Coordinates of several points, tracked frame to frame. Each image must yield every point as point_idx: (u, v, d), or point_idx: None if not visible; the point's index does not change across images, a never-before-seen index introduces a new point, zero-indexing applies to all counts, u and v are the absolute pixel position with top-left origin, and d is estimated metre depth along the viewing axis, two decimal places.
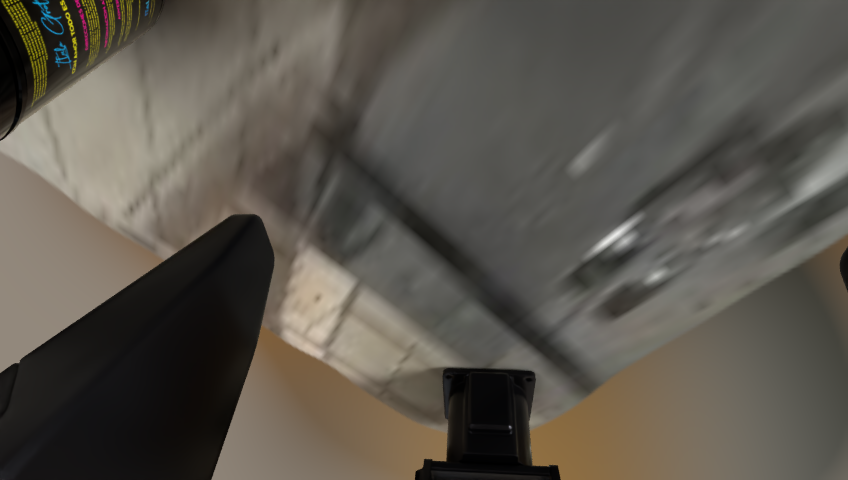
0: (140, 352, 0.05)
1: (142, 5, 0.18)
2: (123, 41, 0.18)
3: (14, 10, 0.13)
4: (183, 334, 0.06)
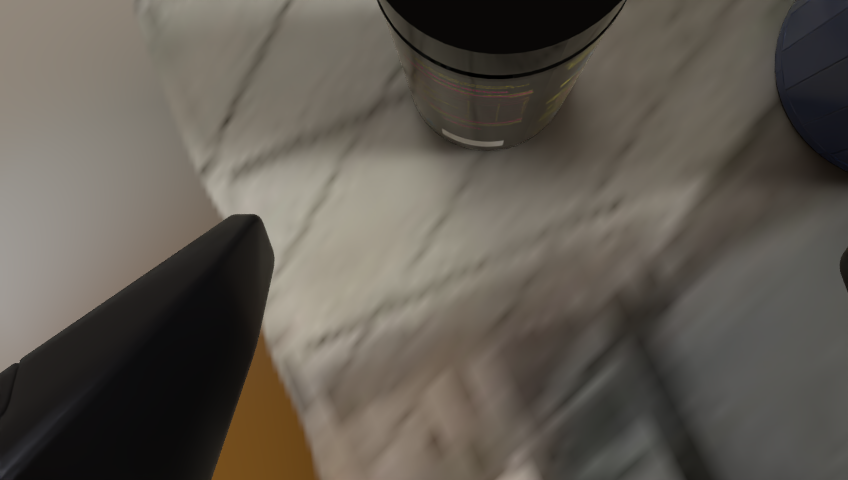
0: (140, 352, 0.05)
1: (555, 109, 0.19)
2: (539, 119, 0.18)
3: None
4: (183, 334, 0.06)
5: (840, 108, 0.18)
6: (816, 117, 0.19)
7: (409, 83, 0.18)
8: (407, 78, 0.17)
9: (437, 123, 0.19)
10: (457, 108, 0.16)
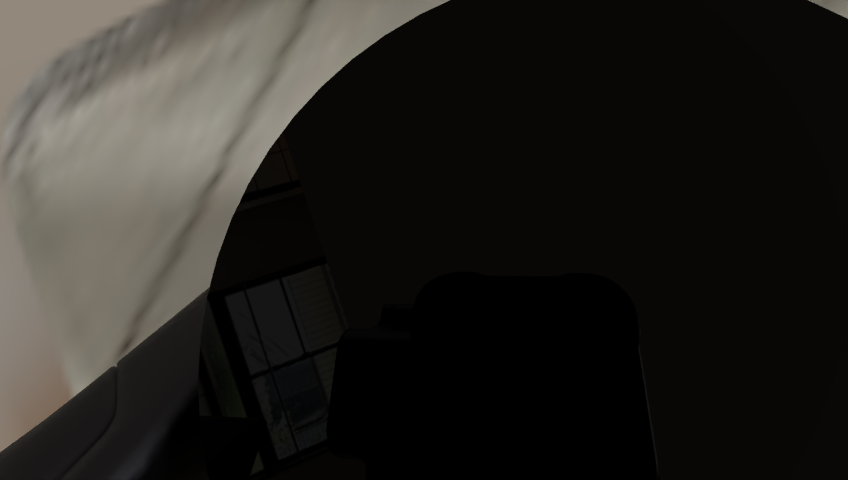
0: None
1: None
2: None
3: None
4: None
5: None
6: None
7: None
8: None
9: None
10: None
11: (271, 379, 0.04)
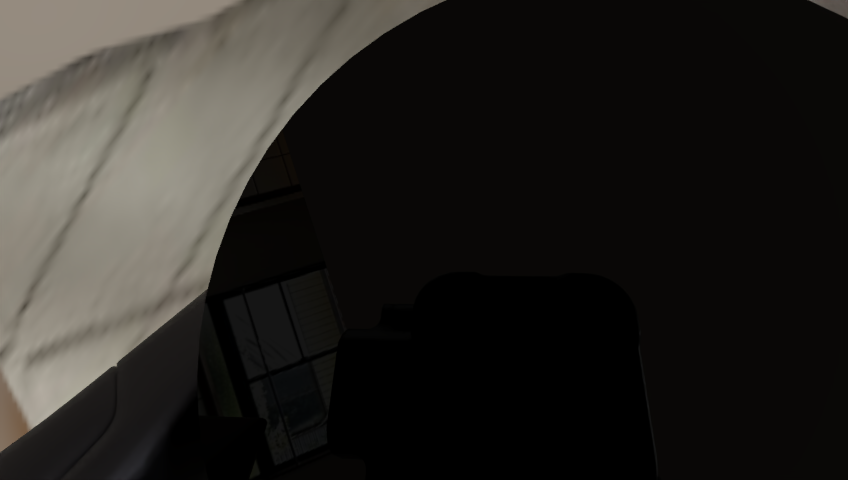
0: None
1: None
2: None
3: None
4: None
5: None
6: None
7: None
8: None
9: None
10: None
11: (270, 377, 0.04)
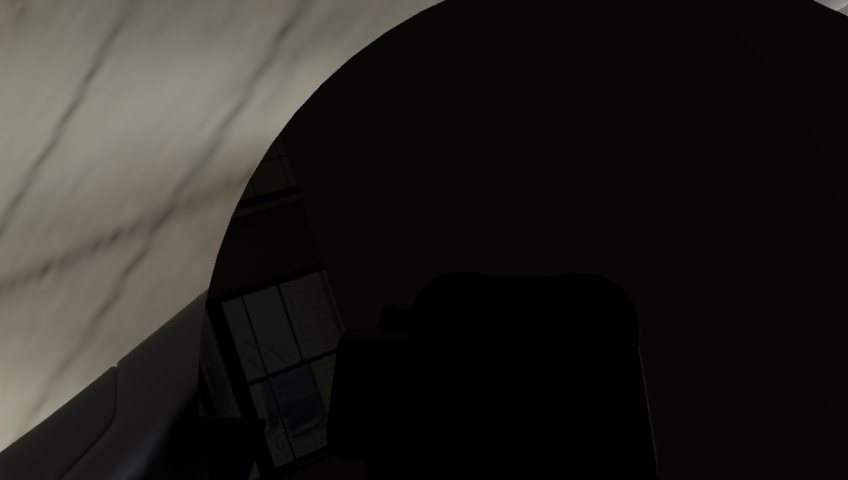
0: None
1: None
2: None
3: None
4: None
5: None
6: None
7: None
8: None
9: None
10: None
11: (271, 376, 0.04)
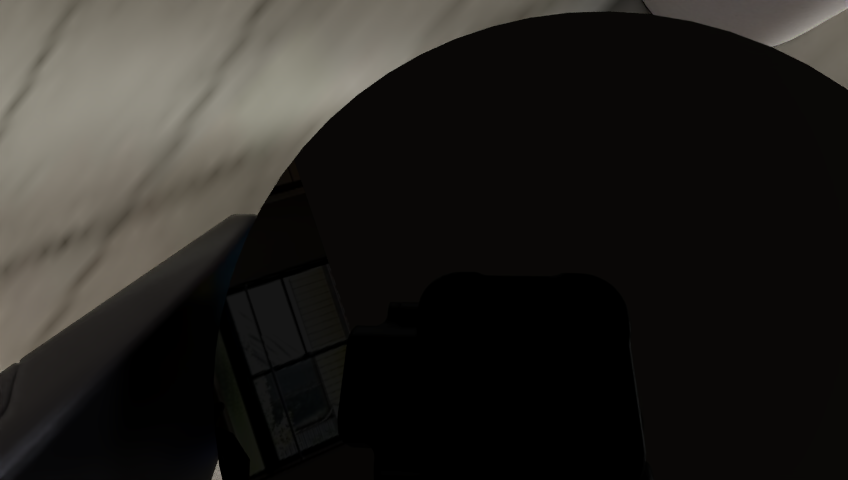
0: (140, 352, 0.05)
1: None
2: None
3: None
4: (183, 334, 0.06)
5: None
6: None
7: None
8: None
9: None
10: None
11: (280, 388, 0.04)
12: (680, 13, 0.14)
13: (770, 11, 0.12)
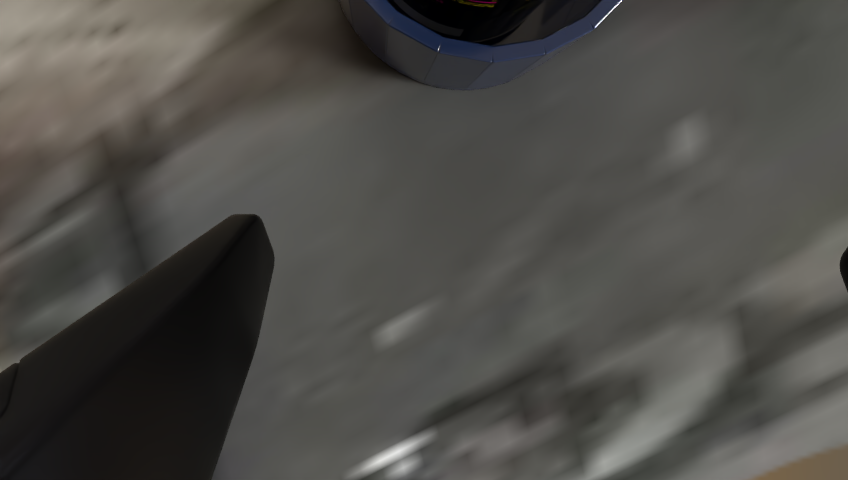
0: (140, 352, 0.05)
1: None
2: (513, 14, 0.15)
3: None
4: (183, 334, 0.06)
5: None
6: None
7: None
8: None
9: None
10: None
11: None
12: None
13: None
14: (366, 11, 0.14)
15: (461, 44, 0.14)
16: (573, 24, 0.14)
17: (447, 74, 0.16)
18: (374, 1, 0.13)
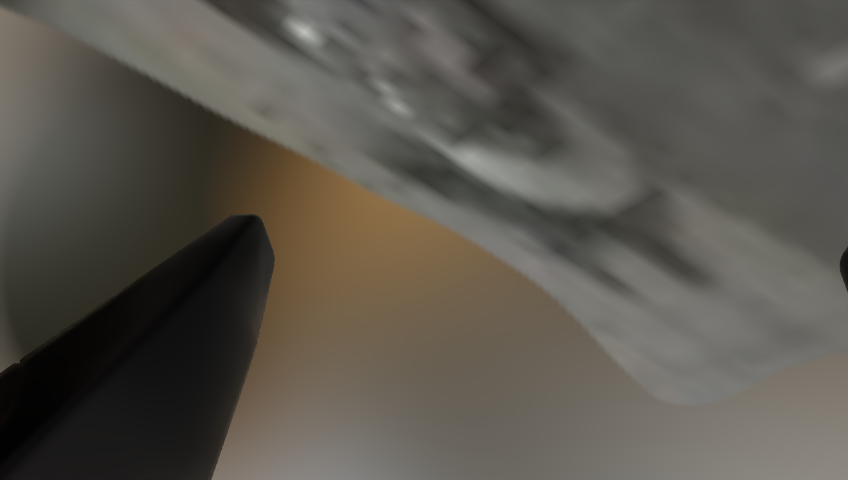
0: (140, 352, 0.05)
1: None
2: None
3: None
4: (183, 334, 0.06)
5: None
6: None
7: None
8: None
9: None
10: None
11: None
12: None
13: None
14: None
15: None
16: None
17: None
18: None
